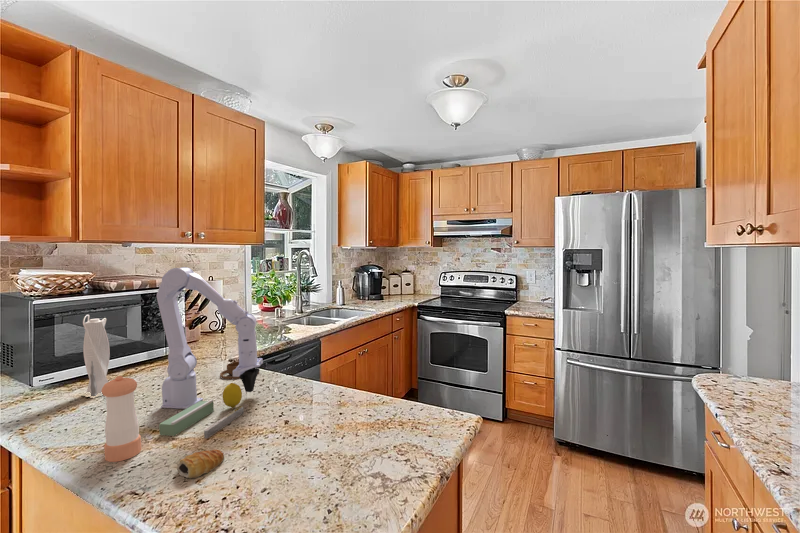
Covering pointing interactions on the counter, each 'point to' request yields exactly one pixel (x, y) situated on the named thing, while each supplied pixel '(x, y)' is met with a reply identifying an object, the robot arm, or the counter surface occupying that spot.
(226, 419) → the rail
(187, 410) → the pale green rectangular bar
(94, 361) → the beige tall twisted piece
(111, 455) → the salt shaker
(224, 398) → the lemon
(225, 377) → the place setting
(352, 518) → the counter surface
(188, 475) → the pastry
